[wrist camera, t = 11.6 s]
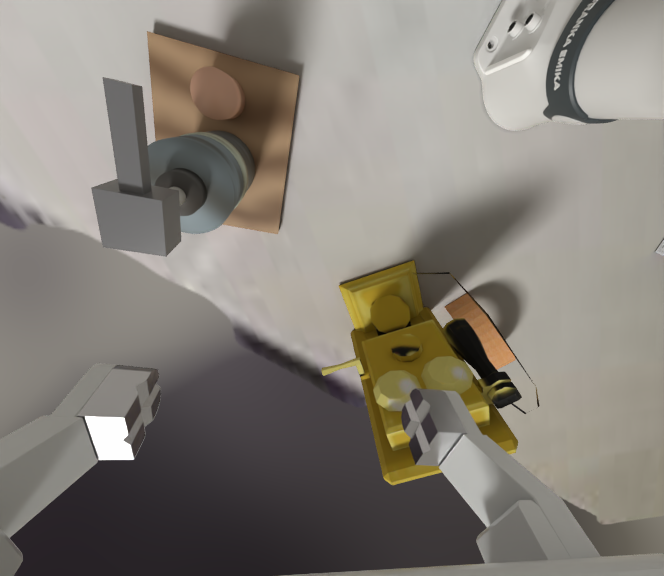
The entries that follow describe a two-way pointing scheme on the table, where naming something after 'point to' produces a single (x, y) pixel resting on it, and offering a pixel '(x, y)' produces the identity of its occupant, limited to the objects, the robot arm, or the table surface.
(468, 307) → the arch
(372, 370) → the vintage telephone
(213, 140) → the stand
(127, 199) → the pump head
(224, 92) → the pink egg shape
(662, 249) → the ink cartridge box
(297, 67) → the table surface
